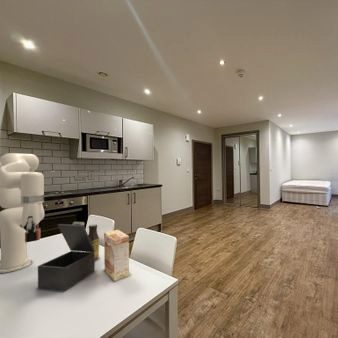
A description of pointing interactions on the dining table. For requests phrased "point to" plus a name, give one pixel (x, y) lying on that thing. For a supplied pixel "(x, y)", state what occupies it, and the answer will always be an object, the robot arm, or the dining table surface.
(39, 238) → the block
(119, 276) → the coffeecake box
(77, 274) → the dark grey hollow box
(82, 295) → the dining table surface
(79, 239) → the box lid with handle
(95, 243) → the sauce bottle
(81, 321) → the dining table surface
